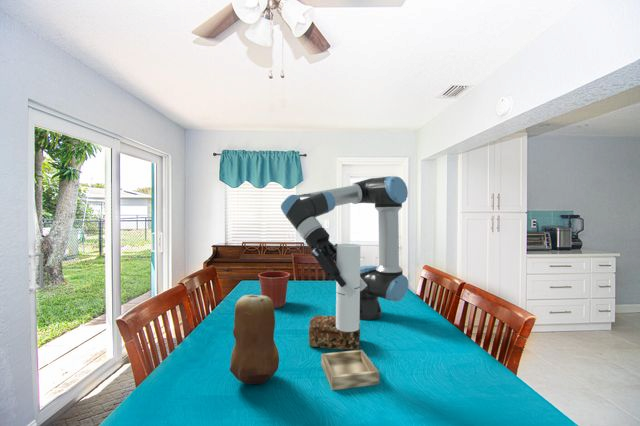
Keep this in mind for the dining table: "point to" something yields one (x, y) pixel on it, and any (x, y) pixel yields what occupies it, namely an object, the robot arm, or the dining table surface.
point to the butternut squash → (254, 340)
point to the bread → (331, 334)
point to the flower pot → (274, 286)
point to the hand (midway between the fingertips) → (358, 291)
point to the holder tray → (349, 369)
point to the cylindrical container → (351, 270)
